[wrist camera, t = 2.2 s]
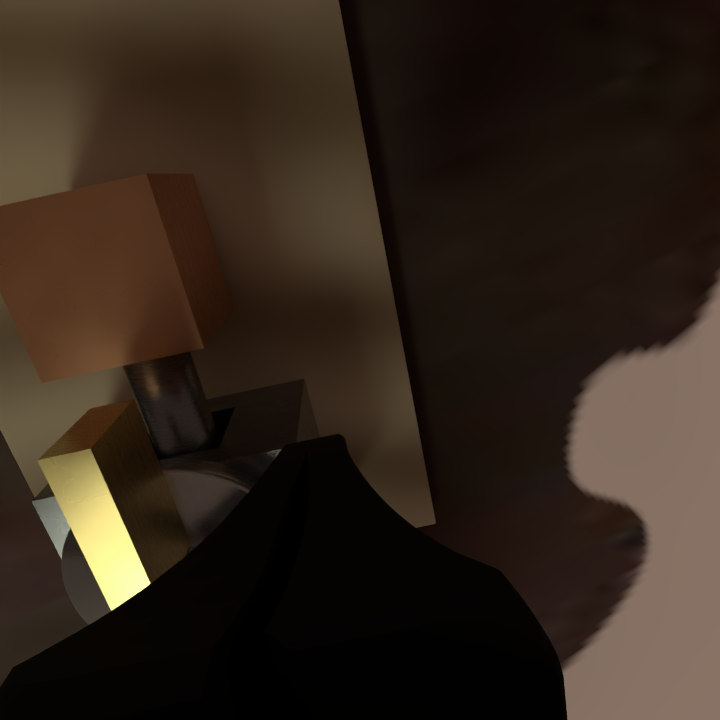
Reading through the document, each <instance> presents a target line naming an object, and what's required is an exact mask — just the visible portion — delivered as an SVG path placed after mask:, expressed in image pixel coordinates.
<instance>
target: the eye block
mask: <svg viewBox="0 0 720 720" xmlns="http://www.w3.org/2000/svg"><path fill="white" fill-rule="evenodd" d="M207 402H208V405H209V408H210V411H211V414H212V417H213V420H214V423H215V426H216V429H217V432H218V435H219V437H220V440H221V443H220V446H219V448H215V449H210V450H206V451H201V452H196V453H191V454H187V455H182V456H177V457H172V458H168V459H181V458H188V459H201V460H206V461H212V462H217V463H220V464H224V465H227V466H230V467H233V468H235V469H238V470H240V471H242V472H244V473H247V474H248V475H250V476H252V477H253V478H255V479H257V480H259V478H260V477H261V476H262V475H263V473H264V472H265V471H266V469H267V468H268V467H269V466H270V464H271V463H272V462H273V460H274V459H275V458H276V456H277V455H278V454H279V452H280V451H281V450H282V449H283V447H284V446H285V445H287V444H291V443H296V442H301V441H306V440H311V439H315V438H320V436H319V432H318V428H317V425H316V421H315V417H314V413H313V409H312V406H311V402H310V398H309V394H308V391H307V387H306V383H305V379H300V380H295V381H291V382H286V383H281V384H277V385H272V386H267V387H262V388H258V389H253V390H248V391H244V392H239V393H234V394H229V395H225V396H220V397H215V398H211V399H207ZM140 416H141V418H142V421H143V423H144V426H145V428H146V431H147V433H148V430H147V427H146V425H145V422H144V420H143V417H142V415H141V413H140ZM148 436H149V438H150V435H149V433H148ZM150 441H151V443H152V440H151V438H150ZM152 446H153V449H154V451H155V454H156V456H157V459H158V461H159V458H158V455H157V453H156V450H155V448H154V445H153V443H152ZM163 460H166V459H163ZM32 502H33V504H34V506H35V508H36V510H37V512H38V514H39V516H40V518H41V520H42V522H43V524H44V526H45V528H46V530H47V532H48V534H49V536H50V538H51V539H52V541H53V543H54V545H55V547H56V549H57V551H58V553H59V555H60V557H61V559H62V550H63V546H64V543H65V539H66V537H67V535H68V532H69V530H70V526H69V524H68V522H67V520H66V518H65V516H64V514H63V512H62V509H61V507H60V505H59V503H58V501H57V499H56V497H55V495H54V493H53V491H52V489H51V487H50V485H49V483H48V484H47V485H46V486H45V487H44V489H43V490H42V491H41V492H40V493H39V494H38V495H37V496H36V497H35V498H34V499H33V501H32Z"/></svg>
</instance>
